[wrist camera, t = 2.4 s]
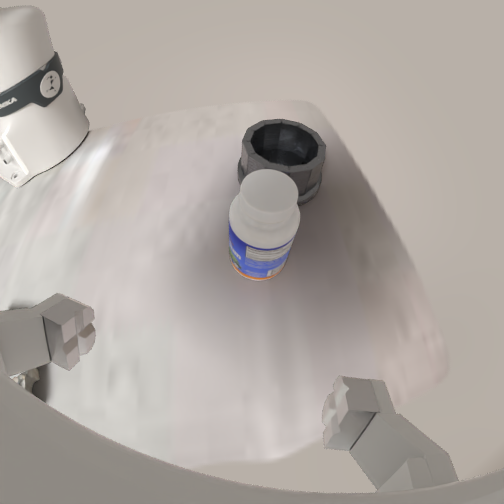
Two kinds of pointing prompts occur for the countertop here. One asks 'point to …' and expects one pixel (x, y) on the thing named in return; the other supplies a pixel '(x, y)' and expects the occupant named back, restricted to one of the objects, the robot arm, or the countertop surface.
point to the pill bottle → (263, 224)
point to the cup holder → (284, 154)
